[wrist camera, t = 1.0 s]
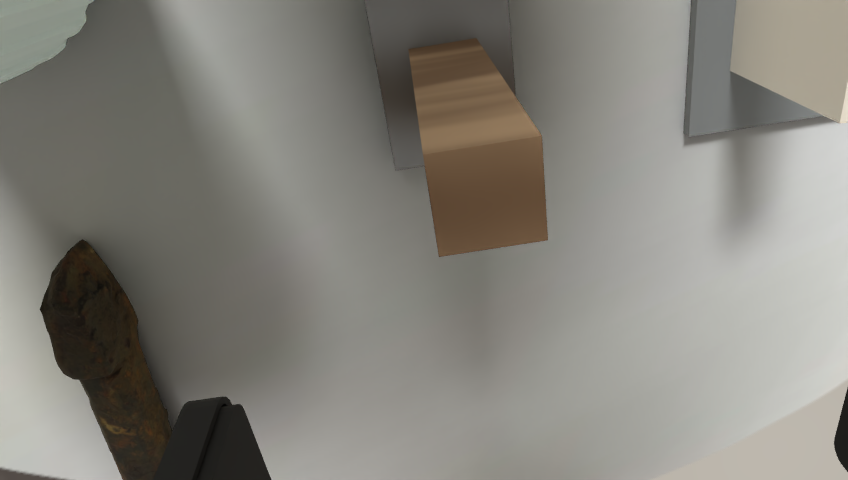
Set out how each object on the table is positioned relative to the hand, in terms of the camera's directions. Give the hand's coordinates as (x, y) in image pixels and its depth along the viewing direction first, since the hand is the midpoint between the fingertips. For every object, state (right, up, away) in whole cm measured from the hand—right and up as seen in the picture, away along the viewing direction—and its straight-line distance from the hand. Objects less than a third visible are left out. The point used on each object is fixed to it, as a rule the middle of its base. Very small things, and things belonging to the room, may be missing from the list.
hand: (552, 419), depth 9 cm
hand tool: (-20, -5, +27) cm, 34 cm away
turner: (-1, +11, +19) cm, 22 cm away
